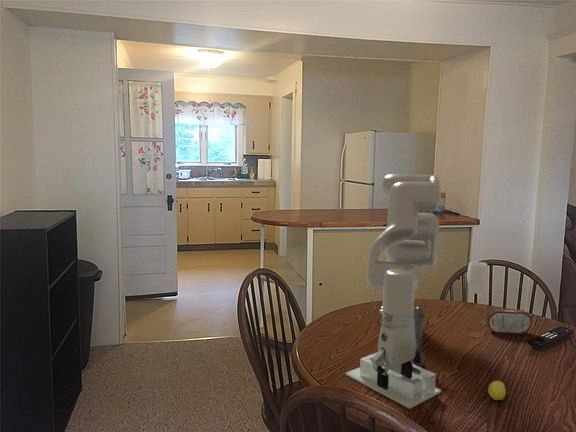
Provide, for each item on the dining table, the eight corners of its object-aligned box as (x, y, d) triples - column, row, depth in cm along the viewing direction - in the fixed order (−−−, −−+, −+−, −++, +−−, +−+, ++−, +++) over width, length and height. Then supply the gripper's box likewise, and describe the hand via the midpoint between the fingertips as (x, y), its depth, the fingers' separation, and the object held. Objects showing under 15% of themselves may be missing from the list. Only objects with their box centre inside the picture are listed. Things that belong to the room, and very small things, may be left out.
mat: (345, 374, 132) (345, 372, 131) (376, 362, 139) (376, 360, 139) (409, 408, 114) (409, 406, 114) (440, 392, 122) (441, 390, 122)
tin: (528, 332, 164) (530, 308, 163) (532, 335, 161) (534, 312, 160) (484, 330, 166) (485, 307, 164) (486, 333, 163) (488, 310, 161)
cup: (484, 314, 182) (487, 262, 179) (485, 320, 175) (489, 266, 172) (464, 312, 184) (467, 260, 181) (464, 318, 177) (468, 264, 174)
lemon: (507, 392, 123) (508, 378, 122) (503, 406, 116) (504, 392, 115) (490, 388, 125) (491, 374, 124) (485, 402, 118) (486, 387, 118)
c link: (359, 375, 130) (360, 358, 129) (381, 366, 135) (382, 350, 135) (412, 403, 116) (413, 384, 115) (434, 392, 121) (435, 374, 120)
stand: (405, 363, 139) (408, 306, 136) (415, 359, 141) (417, 303, 139) (418, 369, 135) (421, 310, 133) (427, 364, 138) (430, 307, 136)
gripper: (386, 330, 110) (383, 398, 113) (430, 315, 121) (427, 378, 123) (362, 321, 116) (360, 386, 119) (406, 307, 127) (404, 367, 129)
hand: (394, 382), depth 121 cm, fingers open, 9 cm apart
